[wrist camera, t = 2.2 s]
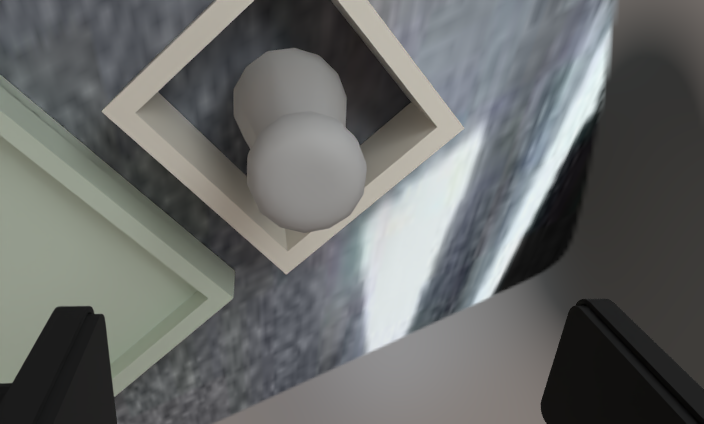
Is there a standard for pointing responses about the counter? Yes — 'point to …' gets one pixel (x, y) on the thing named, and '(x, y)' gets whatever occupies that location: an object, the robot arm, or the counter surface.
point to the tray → (91, 249)
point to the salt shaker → (298, 141)
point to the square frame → (231, 183)
